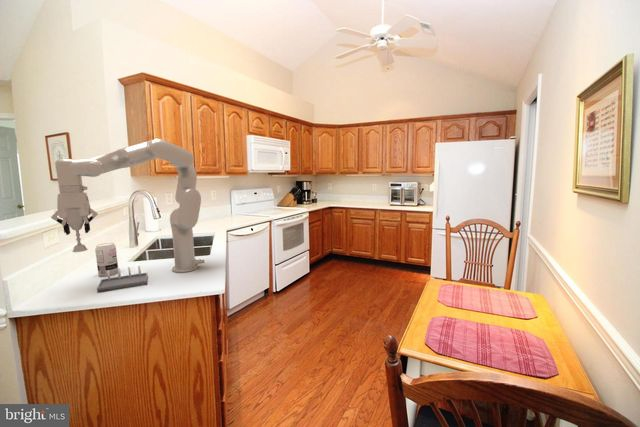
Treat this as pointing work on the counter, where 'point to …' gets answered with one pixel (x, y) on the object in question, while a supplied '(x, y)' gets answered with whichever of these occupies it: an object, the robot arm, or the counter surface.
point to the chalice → (76, 227)
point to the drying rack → (122, 281)
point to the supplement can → (106, 259)
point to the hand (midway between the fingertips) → (77, 233)
